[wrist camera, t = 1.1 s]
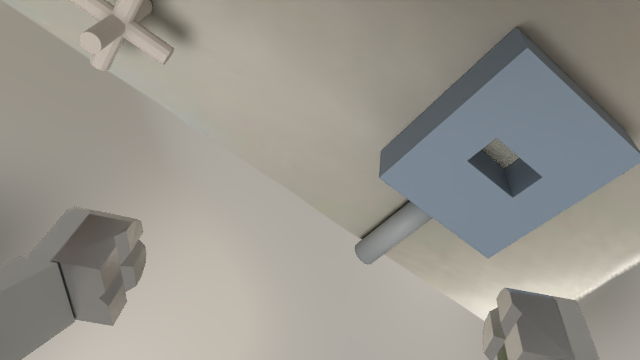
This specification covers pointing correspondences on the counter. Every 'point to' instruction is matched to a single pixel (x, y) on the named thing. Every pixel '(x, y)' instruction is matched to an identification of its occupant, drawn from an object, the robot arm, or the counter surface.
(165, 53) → the pipe connector
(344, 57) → the counter surface
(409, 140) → the blue holed block
